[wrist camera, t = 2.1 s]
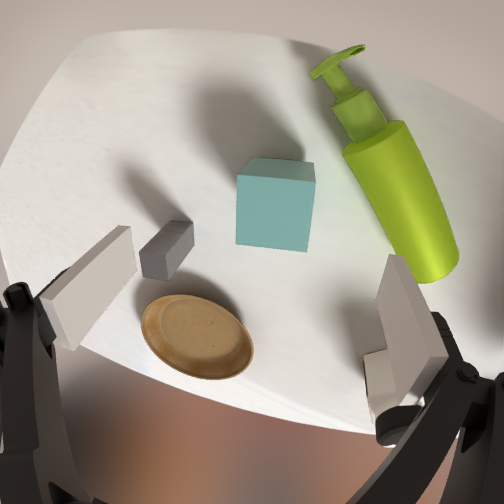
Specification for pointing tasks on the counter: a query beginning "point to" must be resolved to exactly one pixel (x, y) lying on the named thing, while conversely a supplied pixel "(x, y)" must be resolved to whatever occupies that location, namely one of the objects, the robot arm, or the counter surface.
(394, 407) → the medicine bottle
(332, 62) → the soap dispenser
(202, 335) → the plant saucer
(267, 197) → the teal foam cube
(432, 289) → the counter surface
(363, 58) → the counter surface
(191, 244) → the post grey
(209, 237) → the counter surface
